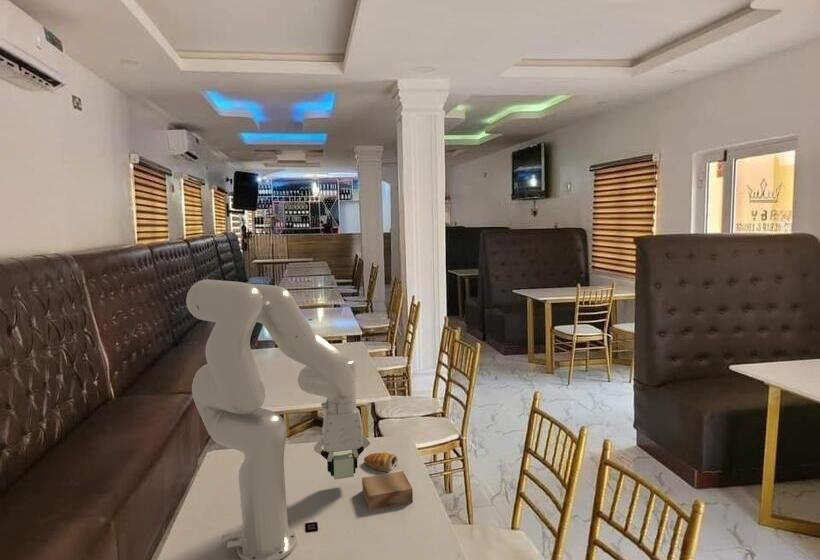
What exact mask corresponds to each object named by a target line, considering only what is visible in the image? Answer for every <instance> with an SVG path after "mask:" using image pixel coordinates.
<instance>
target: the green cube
mask: <svg viewBox="0 0 820 560" xmlns="http://www.w3.org/2000/svg"><path fill="white" fill-rule="evenodd" d="M333 462H334V475H333V476H332V477H333V479H334V480H339V479H347V478H354V477H355V475H354V474H355V473H354V459H353V456H352V450H347V451H338V452H334V454H333Z"/></svg>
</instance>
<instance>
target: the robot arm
mask: <svg viewBox="0 0 820 560" xmlns="http://www.w3.org/2000/svg"><path fill="white" fill-rule="evenodd" d="M185 303H186V307H187V310H188V311H189V313H190V314H191V315H192V316H193V317H194V318H196V319H198V320H201V321H205V322H213V323H215V324H214V326H213V328H212V330H211V332H210V335H209V337H208V339H207V342H206V345H205V350H204V352H205V358H206V364H204V365H203V366H201V367H200V368H199V369H198V370H197V371H196V372H195V375H194V377H193V380H192V383H191V394H192V399H193V402H194V404H195V406H196V409H197V411H198V414H199V416H200V418H201V419H202V422H203V424H204V427H205V428H206V430H207V431H206V432H208V435H209V436H210V438H211V439H212V440H213V441H214V442H215V443H217V444H219V445H220V446H223V447H226V448H229V449H233V450H235V451H239V452H241V453H243V455H244V459H243V462H242V463H241V465H240V467H239V469H238V485H239V486H238V487H239V497H240V499H239V500H240V510H241V522H242V524H241V529H238V530H237V531H236V532H232V533H224V534H222V535H221V545H225V544H226V545H227V547H226V549H227V550H228V549H229V550H230V549H233V548H236V552H237V553H236V554H237V556H238V558H239V559H240V560H282V559H284V558H285V557H287V556H288V555H289V554H291V552H292V551H293V550H294V549H295V547H296V544H297V536H296V533H295V531H294V530H293V529H292V528H290V527H289V520H288V506H287V493H286V492H287V489H286V488H287V487H286V477H285V447H286V441H287V433H288V432H287V431H288V430H287V424H286V422H285V419H284V418H283V417H282V416H281V415H279V414H278V413H277V412H274V411H273V410H270V409H267V408H262V406H263V405H264V403H265V399H266V388H265V384H264V381H263V379H262V376H261V374H260V370H259V369H258V368H259V367H258V365H257V364H256V360H255V358H254V355H253V352H252V349H251V339H252V338H251V337H252V333H253V330H254V328H255V326H256V324H257V323H260V324H262V325H263V327H264V328H265V330H266V331H267V332H268V334H269V335H270V337H271V338H272V340H273V341H274V343H275V344H276V346H277V347H278V349H279V351H280V352H282V353H283V354H284V355H285V357H286V356H287V358H289V359H291V360H293V361H295V362H298V363H299V364H302V365H304V367H303V368H301V369H300V371H299V373H298V375H297V384H298V387H299V388H300V390H302V392H305V393H306V394H307V393H308V394H310V395H315V396H321V397H324V398H326V400H325V401H324V402H321V403H320V405H321V409H325V410H324V414H323V420H322V428H321V429H322V431H321V437H320V438H319V440H318V441H317V442H316V443H315V445H314V446H313V451H314V452H316V453H317V454H318V455H321V457H323V458H324V459H325V460H326V461H327V464H326V465H327V472H328V473H330V476H331V477H334V476H333V475H334V462H333V454H334V453H335V452H343V451H351V454H352V456H353V459H354V474H356V469H358V458H359V456H360V455H361V454H362V453H363V452H364V450H365V449H366V448H367V447H369V446H370V445H371V442H370V440H369V439H368V438H367V437H366V436H365V435H364V433H363V427H362V426H363V425H362V418H361V413H360V411H361V410H360V409H359V408H358V407H357V374H356V373H357V366H356V362H355V360H354V358H351V357H345V355H343V354H342V352H341V351H340V350H339V349H337V348H336V347H335V346H334V345H332V344H331V343H330V342H329V341H327V340H326V339H325V338H324V337H323V336H321V335H319V334H318V333H317V332H315V330H313V328H312V327H311V325H310V323H309V322H308V320H307V318H306V317H305V315H304V313H303V312H302V310H301V308H300V307H299V305H298V304H297V301H296V299H294V296H293V295H292V293H291V292H290V291H289V290H287V289H286V288H284V287H282V286H279V285H275V284H274V285H272V284H261V283H260V284H259V283H247V282H242V281H234V280H233V281H232V280H231V281H230V280H220V279H219V280H218V279H202V280H199V281H196V283H194V284H193V285H192V286H191V287H190V289H189V290H188V291H187V294H186V300H185Z"/></svg>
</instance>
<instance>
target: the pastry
mask: <svg viewBox="0 0 820 560" xmlns="http://www.w3.org/2000/svg"><path fill="white" fill-rule="evenodd" d="M363 461H364V463H365V465H366V466H367V467H369V468H372V469H373V470H378V471H380V472H384V473H385V472H386V473H387V472H390V473H391V472H392V471H393V469H394V468H395V466H397V465H398V462H399V459H398V457H397V455H396V454H395V453H389V452H386V451H383V452H374V453H371V454H368V455H366V456H365V457H363Z"/></svg>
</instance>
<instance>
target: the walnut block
mask: <svg viewBox="0 0 820 560" xmlns="http://www.w3.org/2000/svg"><path fill="white" fill-rule="evenodd" d="M361 482H362V484H361V485H362V493H363V496H364V498H365V501H366V504H367V506H368V509H369V511H372V510H375V509H376V510H377V509H381V508H388V507H393V506H394V507H395V506H399V505H405V504H409V502H411V503H414V500H413V499H414V498H413V487H412V485H411V483H410V481H409V480H408V478H407V476H406V474H405V472H404V470H402V471H396V472H395V471H394V472H390V473H384V474H383V473H382V474H378V475H371V476H366V477H365V476H364V477H361Z"/></svg>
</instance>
